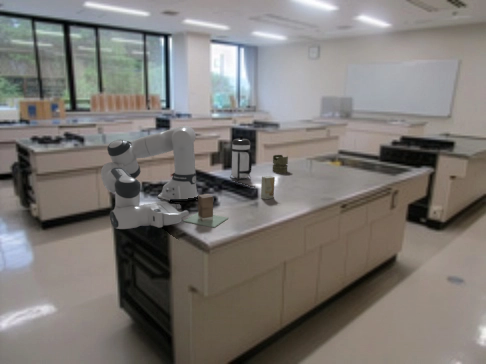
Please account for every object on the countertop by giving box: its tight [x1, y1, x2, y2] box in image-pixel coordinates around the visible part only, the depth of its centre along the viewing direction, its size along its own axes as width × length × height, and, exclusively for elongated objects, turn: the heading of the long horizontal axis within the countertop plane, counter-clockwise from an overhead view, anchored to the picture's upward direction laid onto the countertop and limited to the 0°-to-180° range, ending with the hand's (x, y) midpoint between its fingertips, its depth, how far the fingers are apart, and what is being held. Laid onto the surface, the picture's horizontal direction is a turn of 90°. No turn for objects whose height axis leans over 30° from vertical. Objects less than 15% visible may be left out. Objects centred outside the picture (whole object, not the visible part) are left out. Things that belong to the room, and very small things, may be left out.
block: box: [197, 193, 214, 222], centre depth 154 cm, size 5×5×11 cm
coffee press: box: [229, 134, 253, 182], centre depth 233 cm, size 17×16×30 cm
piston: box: [271, 154, 289, 174], centre depth 262 cm, size 11×12×11 cm
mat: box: [183, 212, 229, 228], centre depth 156 cm, size 16×13×1 cm
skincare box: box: [260, 175, 276, 200], centre depth 191 cm, size 6×4×12 cm
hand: (184, 209), depth 149 cm, fingers open, 8 cm apart
